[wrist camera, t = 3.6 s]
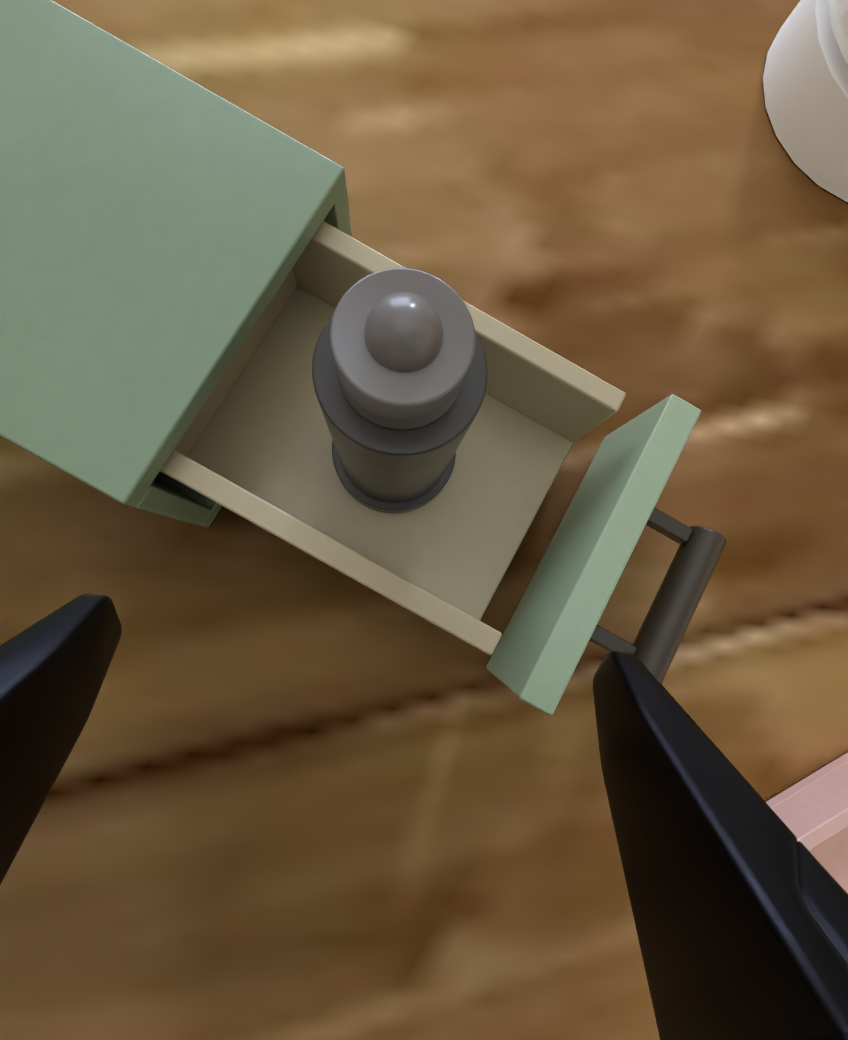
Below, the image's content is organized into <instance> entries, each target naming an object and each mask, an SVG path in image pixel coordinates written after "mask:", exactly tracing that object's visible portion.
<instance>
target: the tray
mask: <svg viewBox="0 0 848 1040" xmlns="http://www.w3.org/2000/svg"><path fill="white" fill-rule="evenodd" d="M766 803H767V804H768V805H769V806H770V808H771V809H772V810H773V811H774V812H775V813H776V814H777V815H778V817H779V818H780V819H781V820H782V821H783V822H784V823H785V824H786V826H787V827H788V828H789V829H790V830H791V831H792V832H793V834H794V835H795V836H796V838H797V841H800V842H801V843H803V845H804V846H805V847H806V848H807V849H808V850H809V851H810V852H811V854H812V855H813V856H814V857H815V858H816V859H817V860H818V861H819V863H820V864H821V865H822V866H823V867H824V868H825V869H826V870H827V871H828V873H829V874H830V875H831V876H832V877H833V878H834V879H835V880H836V881H837V882H838V883H839V885H840V886H841V887H842V888H843V889H844V890H845V891H846V892H847V893H848V752H847V753H846V754H844V755H842V756H841V757H839V758H837V759H836V760H834V761H832V762H831V763H829V764H828V765H826V766H824V767H823V768H821V769H819V770H818V771H816V772H814V773H813V774H811V775H809V776H808V777H806V778H804V779H803V780H801V781H799V782H798V783H796V784H795V785H793V786H791V787H790V788H788V789H786V790H785V791H783V792H781V793H780V794H778V795H776V796H775V797H773V798H771V799H770V800H768V801H767V802H766Z"/></svg>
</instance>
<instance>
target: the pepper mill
mask: <svg viewBox="0 0 848 1040" xmlns="http://www.w3.org/2000/svg"><path fill="white" fill-rule="evenodd" d="M487 377H488V370H487V360H486V356H485V352H484V349H483V346H482V343H481V341H480V339H479V337H478V335H477V333H476V331H475V327H474V323H473V319H472V317H471V314H470V312H469V310H468V308H467V306H466V304H465V302H464V301H463V300H462V298H461V297H460V295H459V294H458V293H457V292H456V291H455V290H454V289H453V288H452V287H451V286H449V285H448V284H447V283H446V282H444V281H443V280H441V279H440V278H438V277H436V276H434V275H432V274H430V273H427V272H424V271H421V270H417V269H412V268H390V269H384V270H381V271H377V272H374V273H372V274H370V275H367V276H366V277H364V278H362V279H361V280H359V281H358V282H357V283H355V284H354V285H353V286H352V287H351V288H350V289H349V290H348V291H347V292H346V293H345V294H344V296H343V297H342V298H341V300H340V301H339V303H338V305H337V307H336V309H335V312H334V314H333V316H332V317H331V318H330V319H329V321H328V322H327V323H326V325H325V326H324V328H323V330H322V332H321V334H320V335H319V338H318V340H317V343H316V346H315V350H314V354H313V360H312V379H313V385H314V390H315V393H316V396H317V399H318V402H319V404H320V407H321V410H322V412H323V415H324V418H325V420H326V423H327V426H328V428H329V431H330V434H331V436H332V439H333V441H332V458H333V463H334V467H335V469H336V472H337V475H338V477H339V479H340V481H341V483H342V485H343V486H344V488H345V489H346V490H347V492H348V493H349V494H350V495H351V496H352V497H353V498H354V499H355V500H357V501H358V502H359V503H361V504H362V505H364V506H366V507H368V508H370V509H372V510H375V511H378V512H383V513H393V514H396V513H405V512H410V511H413V510H416V509H419V508H421V507H423V506H425V505H426V504H427V503H429V502H430V501H432V500H433V499H434V498H435V497H436V496H437V495H438V494H439V493H440V492H441V490H442V489H443V487H444V486H445V484H446V483H447V481H448V480H449V478H450V476H451V474H452V471H453V468H454V464H455V459H456V450H457V448H458V447H459V445H460V443H461V441H462V440H463V438H464V436H465V434H466V433H467V431H468V429H469V427H470V426H471V424H472V422H473V420H474V419H475V417H476V415H477V413H478V411H479V409H480V407H481V405H482V402H483V399H484V396H485V393H486V387H487Z"/></svg>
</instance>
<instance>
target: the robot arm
mask: <svg viewBox="0 0 848 1040" xmlns="http://www.w3.org/2000/svg"><path fill="white" fill-rule="evenodd" d="M120 637H121V624H120V621H119V618H118V616H117V613H116V610H115V607H114V605H113V602H112V600H111V599H110V598H109V597H108V596H103V595H94V594H83V595H81V596H78V597H77V598H75V599H73V600H72V601H70V602H69V603H67V604H66V605H64V606H62V607H61V608H59V609H58V610H56V611H54V612H53V613H51V614H50V615H48V616H46V617H45V618H43V619H42V620H40V621H38V622H37V623H35V624H34V625H32V626H31V627H29V628H27V629H26V630H24V631H23V632H21V633H19V634H18V635H16V636H15V637H13V638H11V639H10V640H8V641H7V642H5V643H3V644H2V645H0V884H1V882H2V881H3V879H4V877H5V875H6V873H7V871H8V869H9V867H10V865H11V864H12V862H13V860H14V858H15V856H16V854H17V852H18V850H19V849H20V847H21V845H22V843H23V841H24V839H25V837H26V835H27V833H28V832H29V830H30V828H31V826H32V824H33V822H34V820H35V818H36V816H37V815H38V813H39V811H40V809H41V807H42V805H43V803H44V801H45V799H46V798H47V796H48V794H49V792H50V790H51V788H52V786H53V784H54V783H55V781H56V779H57V777H58V775H59V773H60V771H61V769H62V767H63V766H64V764H65V762H66V760H67V758H68V756H69V754H70V752H71V750H72V749H73V747H74V745H75V743H76V741H77V739H78V737H79V735H80V733H81V731H82V729H83V727H84V725H85V723H86V721H87V719H88V717H89V715H90V712H91V710H92V708H93V705H94V703H95V700H96V698H97V695H98V693H99V690H100V688H101V685H102V683H103V680H104V678H105V675H106V673H107V670H108V668H109V665H110V663H111V660H112V658H113V655H114V653H115V650H116V648H117V645H118V643H119V640H120ZM593 694H594V703H595V712H596V722H597V731H598V741H599V750H600V758H601V766H602V771H603V777H604V782H605V786H606V791H607V796H608V800H609V805H610V810H611V814H612V819H613V823H614V828H615V833H616V837H617V842H618V846H619V851H620V856H621V860H622V865H623V870H624V874H625V879H626V883H627V888H628V893H629V897H630V902H631V907H632V911H633V916H634V920H635V925H636V930H637V934H638V939H639V944H640V948H641V953H642V957H643V962H644V967H645V971H646V976H647V980H648V985H649V990H650V994H651V999H652V1004H653V1008H654V1013H655V1017H656V1022H657V1027H658V1031H659V1036H660V1040H848V893H847V892H846V891H845V890H844V889H843V888H842V887H841V886H840V885H839V883H838V882H837V881H836V880H835V879H834V878H833V877H832V876H831V875H830V874H829V873H828V871H827V870H826V869H825V868H824V867H823V866H822V865H821V864H820V863H819V861H818V860H817V859H816V858H815V857H814V856H813V855H812V854H811V852H810V851H809V850H808V849H807V848H806V847H805V846H804V845H803V843H801V842H800V841H797V838H796V836H795V835H794V834H793V832H792V831H791V830H790V829H789V828H788V827H787V826H786V824H785V823H784V822H783V821H782V820H781V819H780V818H779V817H778V815H777V814H776V813H775V812H774V811H773V810H772V809H771V808H770V806H769V805H768V804H767V803H766V802H765V801H764V800H763V799H762V797H761V796H760V795H759V794H758V793H757V792H756V791H755V790H754V788H753V787H752V786H751V785H750V784H749V783H748V782H747V780H746V779H745V778H744V777H743V776H742V775H741V774H740V773H739V771H738V770H737V769H736V768H735V767H734V766H733V765H732V764H731V762H730V761H729V760H728V759H727V758H726V757H725V756H724V755H723V753H722V752H721V751H720V750H719V749H718V748H717V747H716V746H715V744H714V743H713V742H712V741H711V740H710V739H709V738H708V737H707V735H706V734H705V733H704V732H703V731H702V730H701V729H700V727H699V726H698V725H697V724H696V723H695V722H694V721H693V720H692V718H691V717H690V716H689V715H688V714H687V713H686V712H685V711H684V709H683V708H682V707H681V706H680V705H679V704H678V703H677V702H676V700H675V699H674V698H673V697H672V696H671V695H670V694H669V693H668V691H667V690H666V689H665V688H664V687H663V686H662V685H661V683H660V682H659V681H658V680H657V679H656V678H655V677H654V676H653V674H652V673H651V672H650V671H649V670H648V669H647V668H646V667H645V665H644V664H643V663H642V662H641V661H640V660H639V659H638V658H637V656H635V655H634V654H633V653H631V652H627V651H617V650H611V651H609V652H608V653H607V654H606V656H605V658H604V659H603V661H602V663H601V665H600V666H599V668H598V670H597V671H596V673H595V675H594V678H593Z"/></svg>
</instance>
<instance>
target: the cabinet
mask: <svg viewBox="0 0 848 1040" xmlns="http://www.w3.org/2000/svg"><path fill="white" fill-rule="evenodd" d="M323 221H324V222H326V223H328V224H330V225H331V226H333V227H335V228H337V229H338V230H340V231H342V232H344V233H345V234H347V235H349V236H351V227H350V216H349V206H348V195H347V187H346V179H345V169H344V168H343V167H342V166H341V165H339V164H337V163H335V162H334V161H332V160H330V159H328V158H327V157H325V156H323V155H321V154H320V153H318V152H316V151H314V150H313V149H311V148H309V147H307V146H306V145H304V144H302V143H300V142H299V141H297V140H295V139H293V138H292V137H290V136H288V135H286V134H285V133H283V132H281V131H279V130H278V129H276V128H274V127H272V126H271V125H269V124H267V123H265V122H264V121H262V120H260V119H258V118H257V117H255V116H253V115H251V114H250V113H248V112H246V111H244V110H243V109H241V108H239V107H237V106H236V105H234V104H232V103H230V102H229V101H227V100H225V99H223V98H222V97H220V96H218V95H216V94H215V93H213V92H211V91H209V90H208V89H206V88H204V87H202V86H201V85H199V84H197V83H195V82H194V81H192V80H190V79H188V78H187V77H185V76H183V75H181V74H180V73H178V72H176V71H174V70H173V69H171V68H169V67H167V66H166V65H164V64H162V63H160V62H159V61H157V60H155V59H153V58H152V57H150V56H148V55H146V54H145V53H143V52H141V51H139V50H138V49H136V48H134V47H132V46H131V45H129V44H127V43H125V42H124V41H122V40H120V39H118V38H117V37H115V36H113V35H111V34H110V33H108V32H106V31H104V30H103V29H101V28H99V27H97V26H96V25H94V24H92V23H90V22H89V21H87V20H85V19H83V18H82V17H80V16H78V15H76V14H75V13H73V12H71V11H69V10H68V9H66V8H64V7H62V6H61V5H59V4H57V3H55V2H54V1H52V0H0V436H1V437H3V438H5V439H7V440H8V441H10V442H12V443H14V444H16V445H17V446H19V447H21V448H23V449H25V450H26V451H28V452H30V453H32V454H34V455H35V456H37V457H39V458H41V459H43V460H44V461H46V462H48V463H50V464H51V465H53V466H55V467H57V468H59V469H60V470H62V471H64V472H66V473H68V474H69V475H71V476H73V477H75V478H77V479H78V480H80V481H82V482H84V483H86V484H87V485H89V486H91V487H93V488H95V489H96V490H98V491H100V492H102V493H104V494H105V495H107V496H109V497H111V498H112V499H114V500H116V501H118V502H120V503H121V504H125V505H128V506H132V507H135V508H138V509H142V510H145V511H149V512H152V513H156V514H160V515H163V516H167V517H170V518H174V519H178V520H181V521H185V522H188V523H192V524H196V525H199V526H203V527H207V528H208V527H210V525H211V523H212V522H213V520H214V519H215V517H216V515H217V514H218V512H219V511H220V509H221V507H222V506H221V505H220V504H218V503H216V502H214V501H212V500H211V499H209V498H207V497H205V496H204V495H202V494H200V493H198V492H196V491H195V490H193V489H191V488H189V487H187V486H186V485H184V484H182V483H180V482H178V481H177V480H175V479H173V478H171V477H170V476H168V475H166V474H164V473H162V472H161V471H160V470H161V468H162V467H163V465H164V464H165V462H166V461H167V459H168V457H169V456H170V454H171V453H172V451H173V450H174V448H175V447H176V445H177V444H178V442H179V441H180V439H181V438H182V436H183V435H184V433H185V431H186V430H187V428H188V427H189V425H190V424H191V422H192V421H193V419H194V418H195V416H196V415H197V413H198V412H199V410H200V409H201V407H202V405H203V404H204V402H205V401H206V399H207V398H208V396H209V395H210V393H211V392H212V390H213V389H214V387H215V386H216V384H217V382H218V381H219V379H220V378H221V376H222V375H223V373H224V372H225V370H226V369H227V367H228V366H229V364H230V363H231V361H232V360H233V358H234V356H235V355H236V353H237V352H238V350H239V349H240V347H241V346H242V344H243V343H244V341H245V340H246V338H247V337H248V335H249V334H250V332H251V330H252V329H253V327H254V326H255V324H256V323H257V321H258V320H259V318H260V317H261V315H262V314H263V312H264V311H265V309H266V307H267V306H268V304H269V303H270V301H271V300H272V298H273V297H274V295H275V294H276V292H277V291H278V289H279V288H280V286H281V285H282V283H283V281H284V280H285V278H286V277H287V275H288V274H289V272H290V271H291V269H292V268H293V266H294V265H295V263H296V262H297V260H298V258H299V257H300V255H301V254H302V252H303V251H304V249H305V248H306V246H307V245H308V243H309V242H310V240H311V239H312V237H313V236H314V234H315V232H316V231H317V229H318V228H319V226H320V225H321V223H322V222H323Z"/></svg>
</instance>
